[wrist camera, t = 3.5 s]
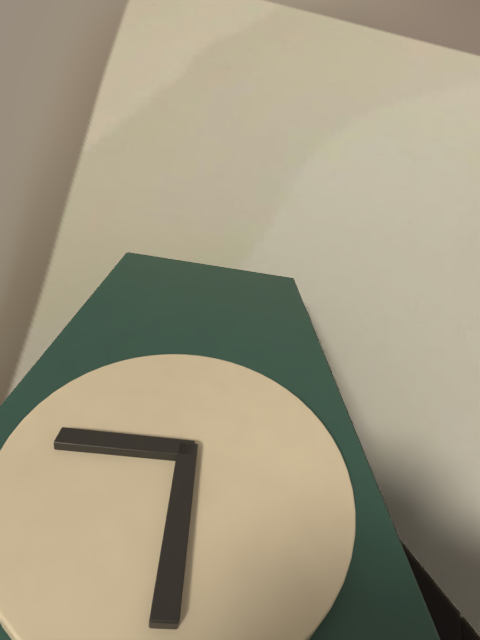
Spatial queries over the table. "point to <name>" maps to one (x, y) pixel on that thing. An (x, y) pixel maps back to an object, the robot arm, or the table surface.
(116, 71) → the table surface
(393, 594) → the clock
